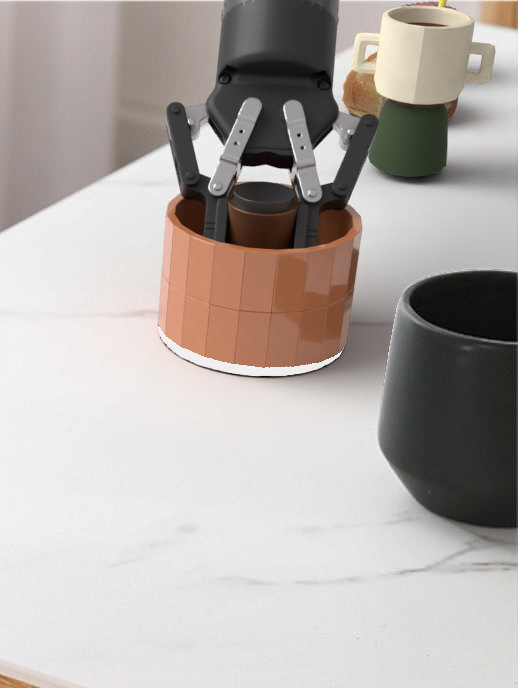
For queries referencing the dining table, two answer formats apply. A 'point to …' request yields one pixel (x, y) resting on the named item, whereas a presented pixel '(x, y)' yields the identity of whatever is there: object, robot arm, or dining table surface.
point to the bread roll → (371, 94)
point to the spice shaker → (261, 216)
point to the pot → (258, 291)
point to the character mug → (419, 83)
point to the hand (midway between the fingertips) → (258, 260)
